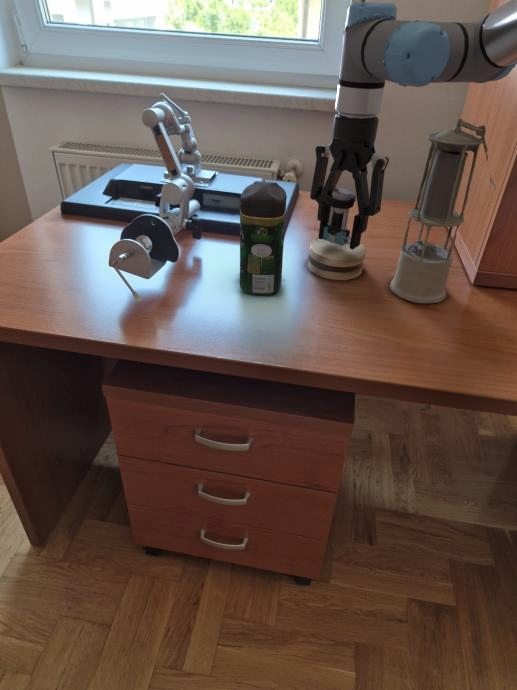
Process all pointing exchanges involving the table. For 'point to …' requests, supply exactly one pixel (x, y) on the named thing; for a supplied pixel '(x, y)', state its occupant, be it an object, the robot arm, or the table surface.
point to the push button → (339, 216)
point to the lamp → (437, 215)
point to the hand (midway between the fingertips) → (338, 241)
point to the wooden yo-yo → (335, 260)
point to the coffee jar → (262, 237)
